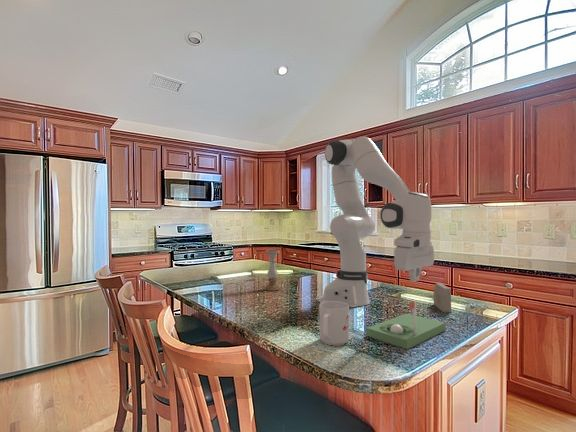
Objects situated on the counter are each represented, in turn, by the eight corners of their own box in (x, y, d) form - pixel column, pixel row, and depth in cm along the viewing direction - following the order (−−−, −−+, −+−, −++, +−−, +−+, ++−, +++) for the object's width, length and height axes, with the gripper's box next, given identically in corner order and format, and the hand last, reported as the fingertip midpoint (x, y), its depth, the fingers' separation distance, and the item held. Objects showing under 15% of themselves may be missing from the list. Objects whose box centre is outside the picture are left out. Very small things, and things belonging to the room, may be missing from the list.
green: (406, 320, 120) (406, 286, 120) (445, 330, 109) (445, 292, 109) (366, 335, 104) (366, 296, 104) (407, 349, 93) (407, 305, 93)
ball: (398, 341, 101) (388, 332, 101) (395, 338, 105) (386, 329, 105) (407, 332, 101) (397, 322, 101) (404, 329, 104) (395, 320, 105)
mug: (325, 334, 106) (325, 299, 106) (352, 339, 101) (352, 303, 101) (310, 347, 95) (310, 308, 95) (339, 353, 91) (339, 313, 91)
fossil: (452, 312, 129) (452, 288, 130) (442, 312, 130) (442, 288, 130) (441, 304, 141) (441, 282, 141) (433, 304, 142) (433, 282, 142)
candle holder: (262, 291, 168) (262, 251, 169) (266, 287, 177) (266, 249, 177) (279, 291, 167) (279, 251, 167) (282, 287, 176) (282, 250, 176)
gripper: (422, 238, 120) (420, 275, 120) (391, 240, 107) (389, 283, 107) (439, 239, 115) (438, 279, 115) (409, 242, 102) (407, 287, 102)
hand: (414, 281), depth 111 cm, fingers closed
